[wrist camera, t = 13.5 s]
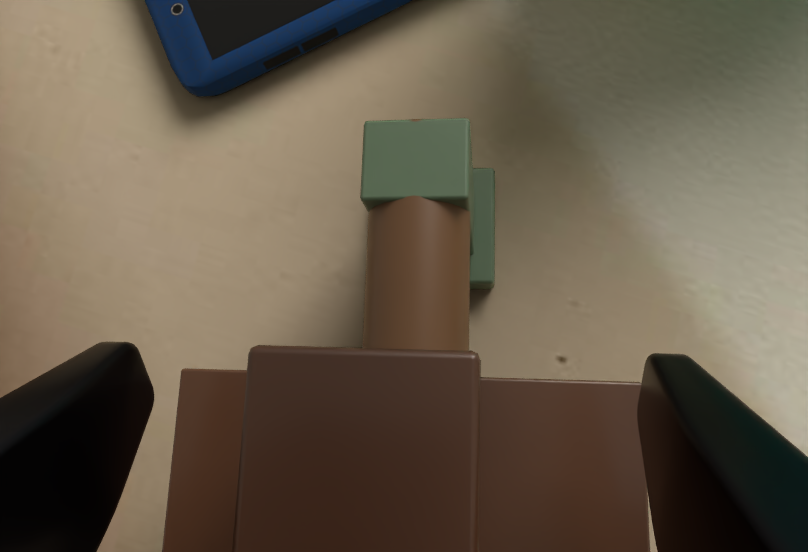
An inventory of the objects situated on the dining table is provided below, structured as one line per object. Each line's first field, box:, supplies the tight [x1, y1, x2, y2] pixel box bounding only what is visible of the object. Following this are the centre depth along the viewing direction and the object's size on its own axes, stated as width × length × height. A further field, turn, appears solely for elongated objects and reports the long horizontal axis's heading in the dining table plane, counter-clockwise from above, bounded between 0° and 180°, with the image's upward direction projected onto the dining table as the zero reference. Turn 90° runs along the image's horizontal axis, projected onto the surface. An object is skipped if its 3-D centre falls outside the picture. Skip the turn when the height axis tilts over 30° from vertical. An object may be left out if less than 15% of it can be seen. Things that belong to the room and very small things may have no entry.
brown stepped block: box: [162, 345, 650, 552], centre depth 10 cm, size 7×3×10 cm, turn 88°
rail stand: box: [360, 118, 495, 351], centre depth 13 cm, size 14×3×5 cm, turn 178°
